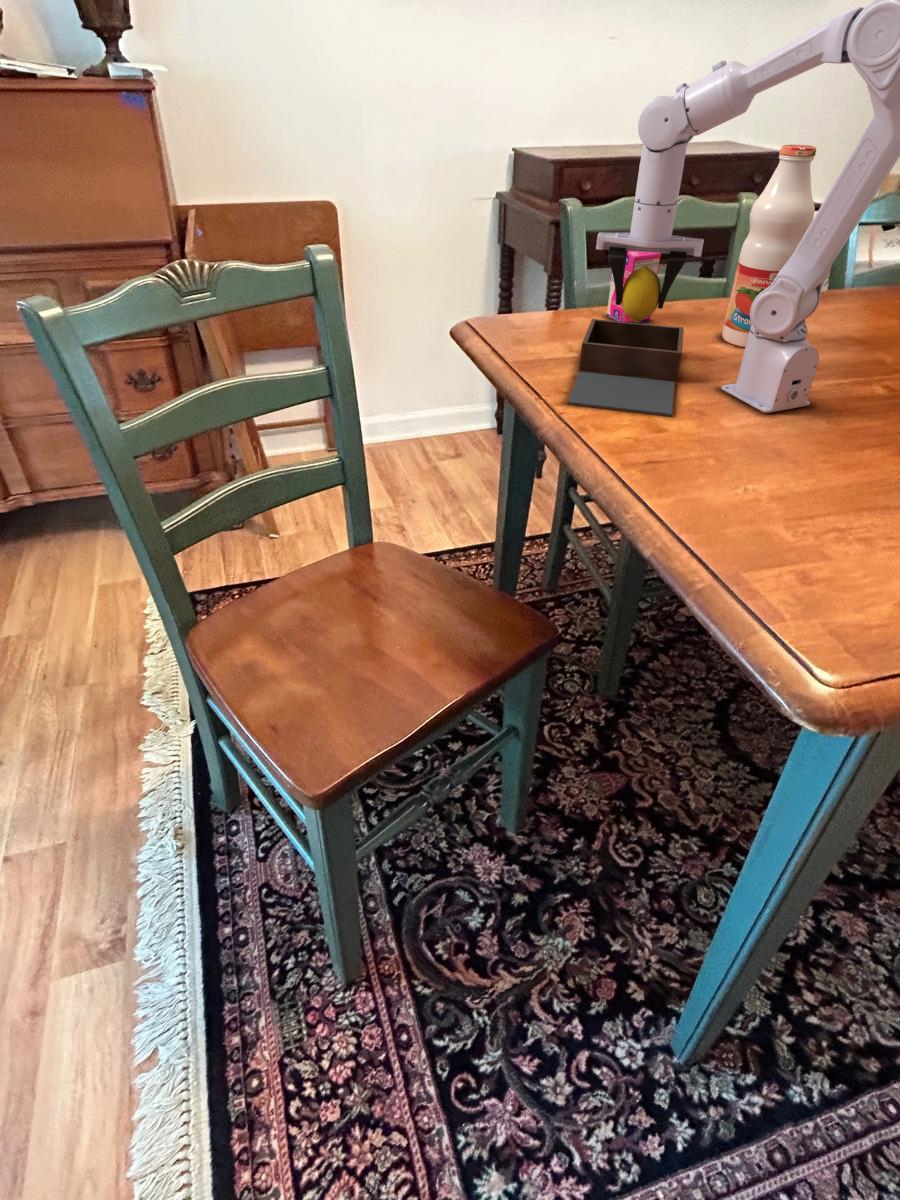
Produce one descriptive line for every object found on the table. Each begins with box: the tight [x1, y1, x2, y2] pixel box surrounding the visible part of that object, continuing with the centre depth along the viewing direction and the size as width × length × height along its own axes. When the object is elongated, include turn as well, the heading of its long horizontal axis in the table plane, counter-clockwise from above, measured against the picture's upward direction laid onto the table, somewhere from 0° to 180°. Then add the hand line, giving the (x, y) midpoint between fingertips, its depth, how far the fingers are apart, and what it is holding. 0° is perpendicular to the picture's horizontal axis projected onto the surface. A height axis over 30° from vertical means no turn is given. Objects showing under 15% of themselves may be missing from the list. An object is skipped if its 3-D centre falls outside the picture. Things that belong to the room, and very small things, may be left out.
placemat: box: [567, 371, 676, 417], centre depth 105 cm, size 14×12×1 cm
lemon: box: [621, 266, 662, 323], centre depth 109 cm, size 6×6×8 cm
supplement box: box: [606, 246, 662, 324], centre depth 130 cm, size 6×6×12 cm
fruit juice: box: [721, 144, 817, 348], centre depth 116 cm, size 9×9×28 cm
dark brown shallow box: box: [578, 318, 685, 383], centre depth 114 cm, size 14×12×4 cm
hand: (639, 305), depth 110 cm, fingers closed on lemon, 5 cm apart
